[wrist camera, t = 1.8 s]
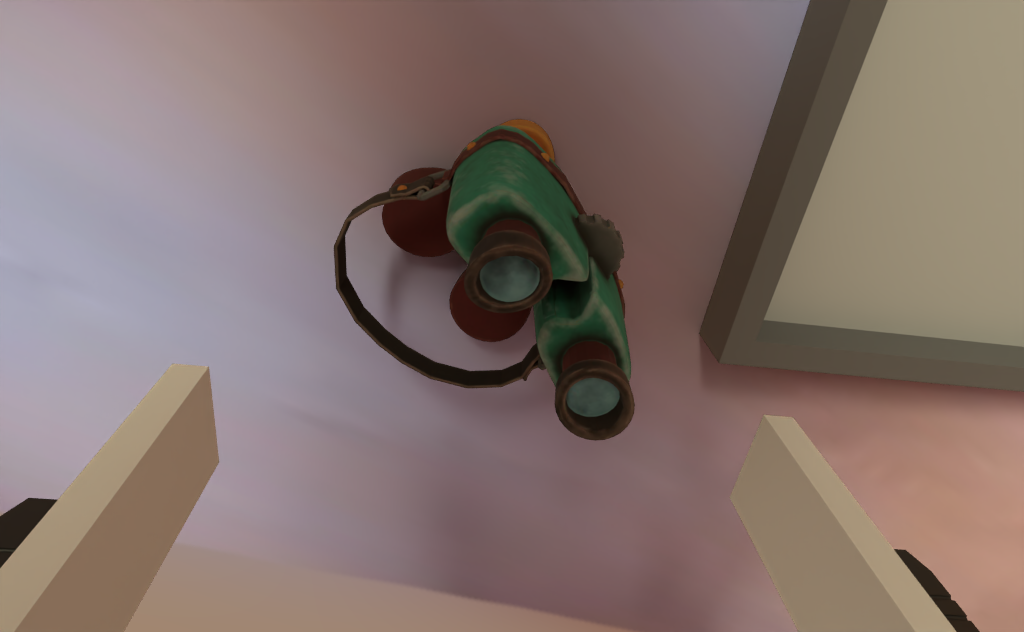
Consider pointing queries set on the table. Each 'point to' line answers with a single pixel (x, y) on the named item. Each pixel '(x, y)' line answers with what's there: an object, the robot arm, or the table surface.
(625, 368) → the binoculars
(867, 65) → the case
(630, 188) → the table surface
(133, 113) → the table surface
